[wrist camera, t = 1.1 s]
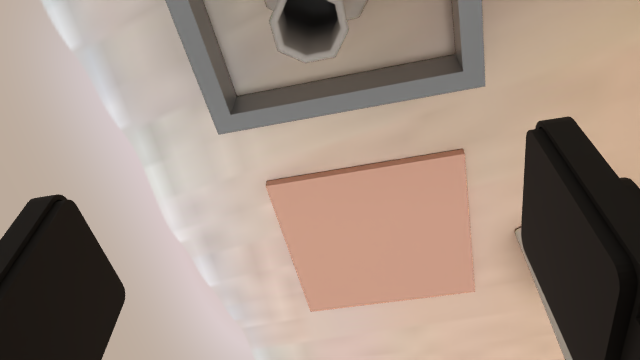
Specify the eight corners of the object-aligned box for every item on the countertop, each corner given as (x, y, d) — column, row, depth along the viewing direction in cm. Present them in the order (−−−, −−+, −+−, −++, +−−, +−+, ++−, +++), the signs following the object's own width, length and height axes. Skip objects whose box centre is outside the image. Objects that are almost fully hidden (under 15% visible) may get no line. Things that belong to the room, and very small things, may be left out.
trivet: (462, 149, 36) (464, 153, 35) (473, 286, 44) (474, 291, 43) (266, 181, 38) (265, 186, 38) (311, 306, 46) (310, 311, 46)
